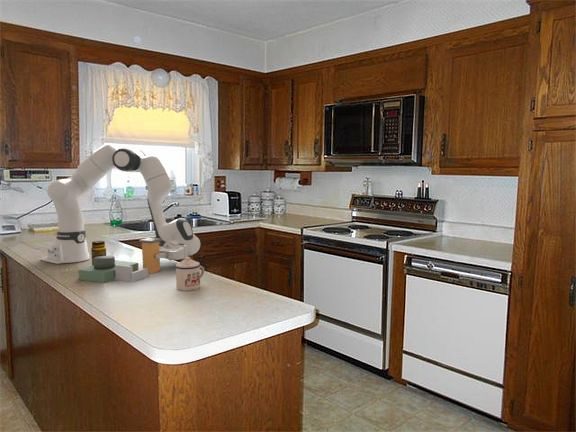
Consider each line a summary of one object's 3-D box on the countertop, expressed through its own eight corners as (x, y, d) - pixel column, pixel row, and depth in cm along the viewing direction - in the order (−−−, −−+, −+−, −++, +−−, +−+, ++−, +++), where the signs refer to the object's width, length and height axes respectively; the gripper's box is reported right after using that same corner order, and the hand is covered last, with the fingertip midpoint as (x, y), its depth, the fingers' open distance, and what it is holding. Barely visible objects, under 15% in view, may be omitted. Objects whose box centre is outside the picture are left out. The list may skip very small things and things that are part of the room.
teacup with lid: (186, 292, 161) (185, 261, 160) (170, 288, 167) (169, 257, 165) (211, 285, 170) (211, 255, 169) (196, 281, 176) (195, 252, 174)
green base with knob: (78, 279, 179) (77, 259, 179) (114, 269, 197) (113, 251, 196) (121, 285, 170) (120, 264, 170) (155, 274, 188) (154, 255, 187)
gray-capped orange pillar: (140, 272, 191) (139, 240, 189) (150, 269, 196) (149, 237, 195) (152, 273, 188) (151, 241, 186) (162, 270, 194) (161, 238, 192)
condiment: (109, 268, 197) (108, 242, 196) (88, 271, 193) (87, 244, 191) (105, 265, 203) (104, 239, 202) (85, 268, 199) (84, 241, 197)
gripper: (155, 241, 207) (131, 246, 195) (189, 245, 197) (166, 250, 185) (155, 254, 208) (132, 260, 196) (189, 259, 198) (167, 265, 186)
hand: (149, 255), depth 191 cm, fingers closed on gray-capped orange pillar, 5 cm apart
